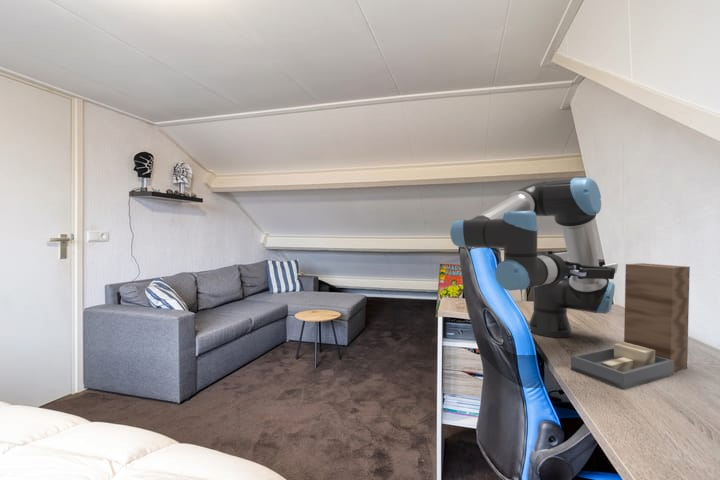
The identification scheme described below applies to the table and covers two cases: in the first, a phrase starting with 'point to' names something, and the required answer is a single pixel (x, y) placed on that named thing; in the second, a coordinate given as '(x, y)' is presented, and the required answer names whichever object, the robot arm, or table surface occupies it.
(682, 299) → the plinth
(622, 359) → the mallet
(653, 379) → the tray
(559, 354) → the table surface
